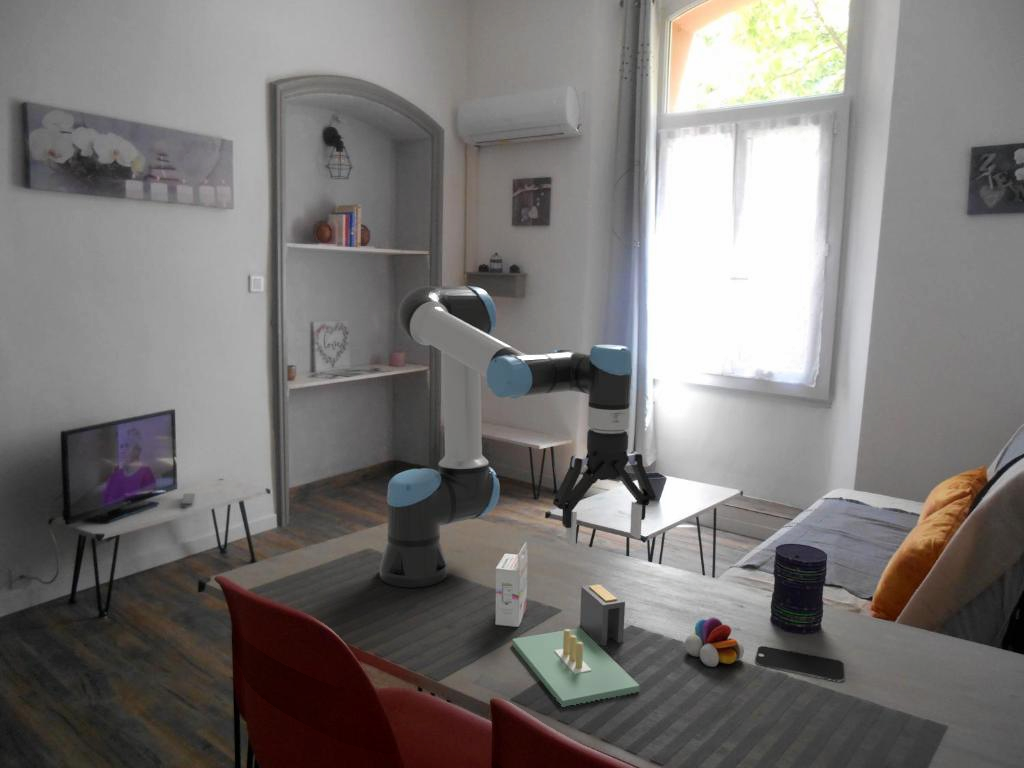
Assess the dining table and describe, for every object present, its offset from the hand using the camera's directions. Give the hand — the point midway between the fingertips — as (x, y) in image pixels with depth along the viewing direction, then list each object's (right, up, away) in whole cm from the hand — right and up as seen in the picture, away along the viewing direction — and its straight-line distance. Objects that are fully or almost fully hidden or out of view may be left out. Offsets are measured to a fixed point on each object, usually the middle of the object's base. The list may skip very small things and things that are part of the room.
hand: (603, 540), depth 147 cm
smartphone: (+34, -21, -7) cm, 41 cm away
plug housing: (0, -19, +4) cm, 19 cm away
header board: (-7, -20, -10) cm, 24 cm away
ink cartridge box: (-18, -18, +9) cm, 26 cm away
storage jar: (+39, -19, +9) cm, 45 cm away
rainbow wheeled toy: (+19, -21, -5) cm, 29 cm away
